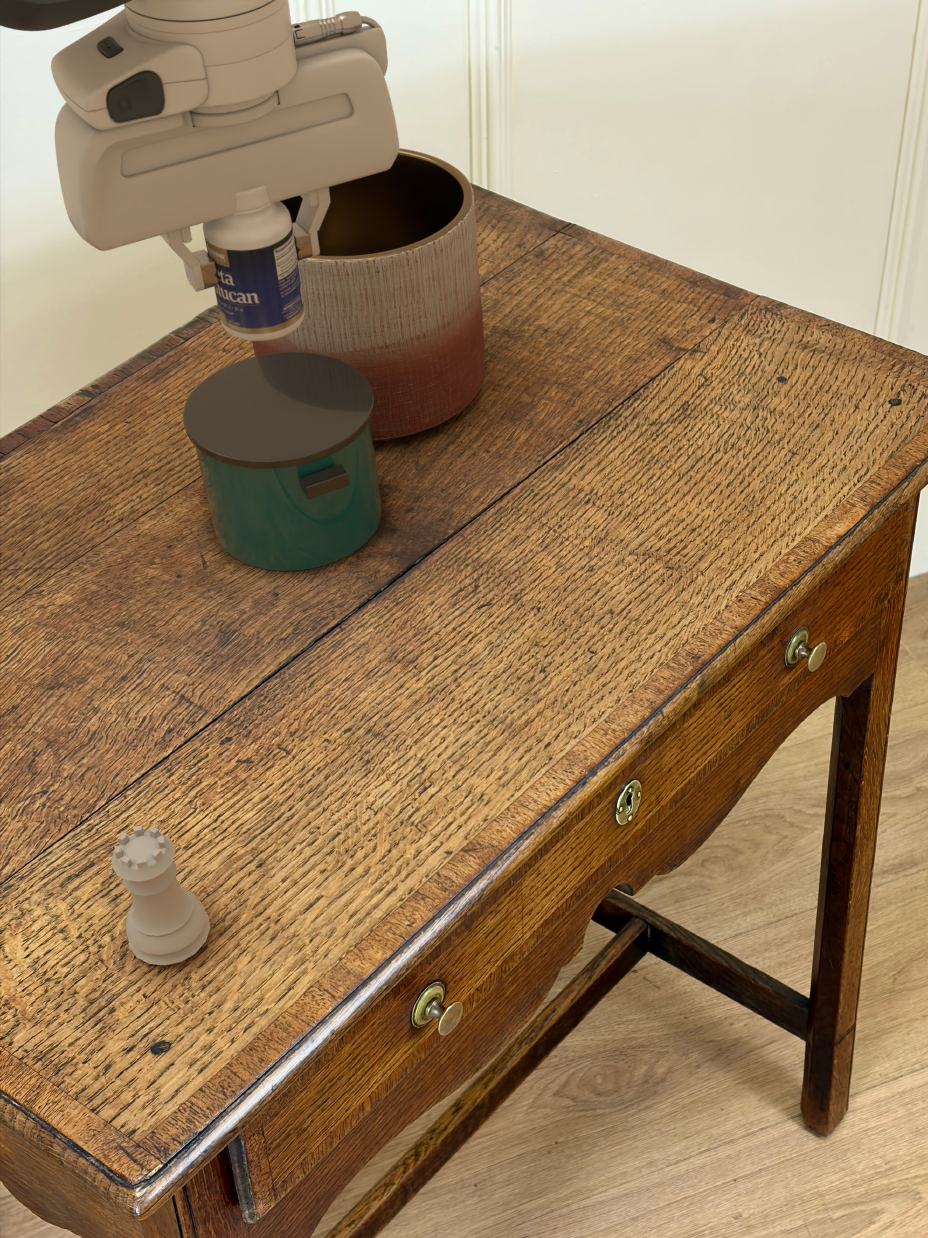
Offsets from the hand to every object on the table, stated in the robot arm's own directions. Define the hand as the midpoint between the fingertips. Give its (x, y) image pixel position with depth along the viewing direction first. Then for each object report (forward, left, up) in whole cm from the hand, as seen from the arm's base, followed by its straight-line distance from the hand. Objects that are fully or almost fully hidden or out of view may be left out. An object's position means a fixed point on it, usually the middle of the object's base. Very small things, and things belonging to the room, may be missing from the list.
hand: (254, 269), depth 92 cm
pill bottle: (0, 0, -4) cm, 4 cm away
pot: (0, 0, -20) cm, 20 cm away
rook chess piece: (-21, -30, -20) cm, 42 cm away
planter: (+12, +12, -20) cm, 26 cm away
